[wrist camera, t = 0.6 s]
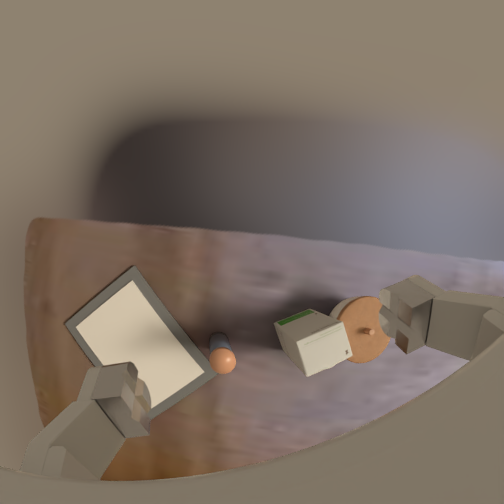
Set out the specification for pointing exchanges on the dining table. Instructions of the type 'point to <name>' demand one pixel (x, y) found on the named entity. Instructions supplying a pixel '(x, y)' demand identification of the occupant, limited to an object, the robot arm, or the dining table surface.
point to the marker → (221, 353)
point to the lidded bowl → (362, 327)
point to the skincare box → (313, 340)
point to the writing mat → (141, 340)
